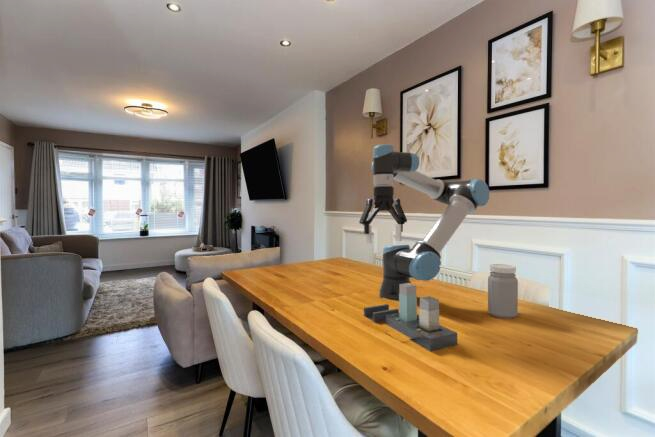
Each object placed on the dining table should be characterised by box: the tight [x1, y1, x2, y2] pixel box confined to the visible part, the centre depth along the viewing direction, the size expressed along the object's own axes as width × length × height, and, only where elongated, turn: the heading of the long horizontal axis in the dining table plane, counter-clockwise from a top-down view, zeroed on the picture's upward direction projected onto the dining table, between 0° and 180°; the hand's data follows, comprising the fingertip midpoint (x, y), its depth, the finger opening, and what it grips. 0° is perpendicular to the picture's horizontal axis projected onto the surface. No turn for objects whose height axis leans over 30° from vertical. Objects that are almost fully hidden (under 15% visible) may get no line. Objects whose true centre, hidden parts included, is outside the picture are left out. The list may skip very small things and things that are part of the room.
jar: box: [487, 263, 519, 320], centre depth 117 cm, size 10×10×18 cm
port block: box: [384, 295, 458, 352], centre depth 100 cm, size 10×22×12 cm, turn 24°
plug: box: [398, 283, 418, 322], centre depth 104 cm, size 4×4×14 cm
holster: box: [363, 303, 399, 324], centre depth 114 cm, size 10×8×4 cm
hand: (384, 241), depth 122 cm, fingers open, 13 cm apart
